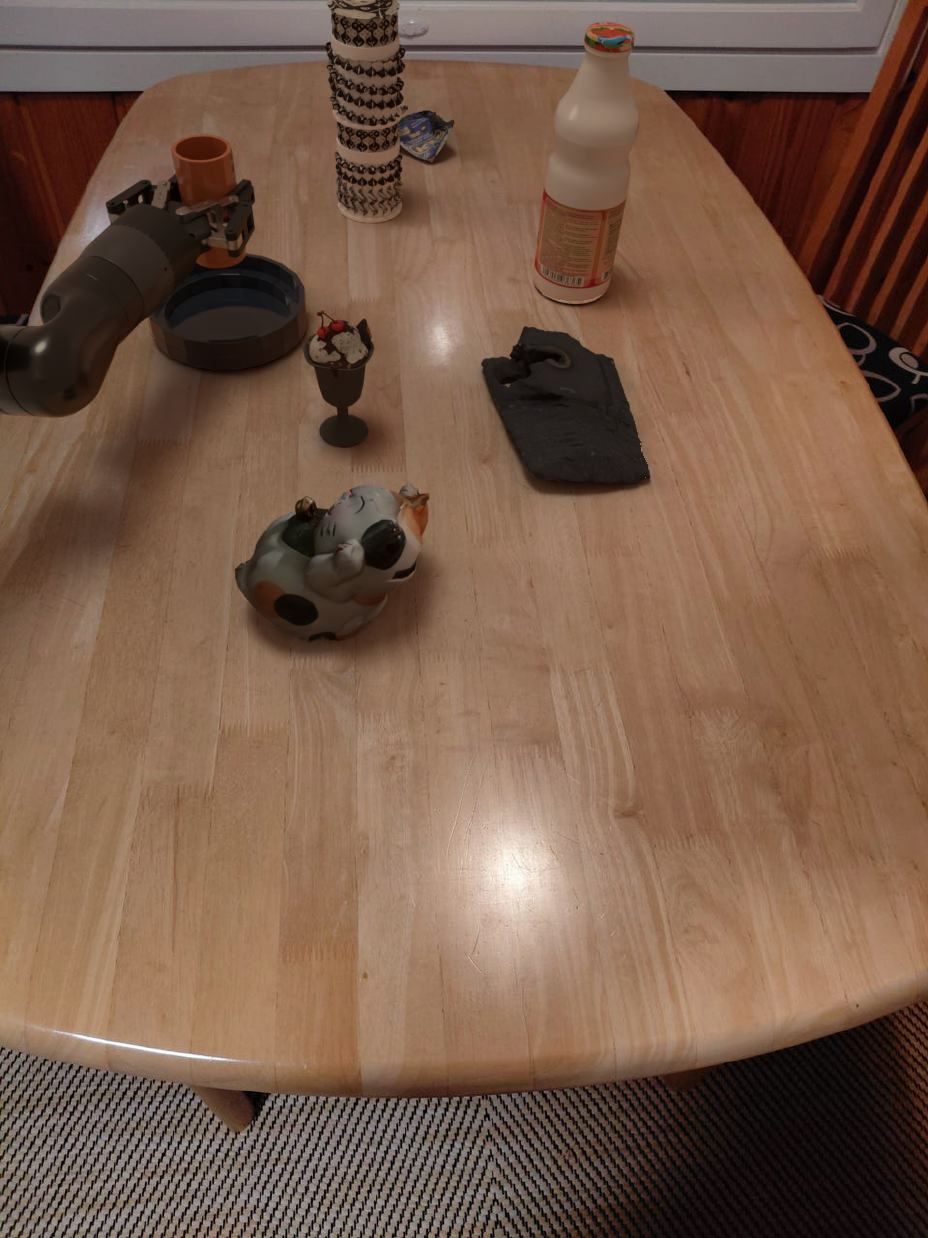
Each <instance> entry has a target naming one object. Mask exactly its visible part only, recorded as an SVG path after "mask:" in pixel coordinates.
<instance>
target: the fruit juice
mask: <svg viewBox="0 0 928 1238" xmlns="http://www.w3.org/2000/svg"><path fill="white" fill-rule="evenodd" d="M583 40H584V44H583V46H584V47H583V48H584V50H585V53H584V56H583V59H582V61H581V63H580V66H579V69H578V70H577V73H576V75H575V77H574V78H573V81H572V83H571V86H570V87H569V89H568V90H567V92H566V93H565V94H563V96H562V98H561V99H560V100H559V102H558V104H557V105H556V108H555V110H554V111H555V112H554V115H553V119H552V134H553V141H554V147H553V150H552V151H551V153H550V155H549V157H548V160H547V163H546V167H545V168H546V169H545V174H544V181H543V192H542V199H541V208H540V215H539V224H538V230H537V240H536V247H535V258H534V262H533V263H534V264H533V274H532V275H533V283H534V286H535V285H536V286H535V288H536V287H537V288H538V289H539V290H540V291H541V292H542V293H544V294H545V295H547V296H550V297H553V298H555V299H558V300H560V299H561V300H566V301H584V300H589V299H593V298H595V297H597V296H599V295H602V294H603V293H604V292H605V291H606V290H607V291H608V289H609V286H610V283H611V280H612V274H613V269H614V263H615V259H616V254H617V248H618V244H619V238H620V233H621V228H622V223H623V217H624V212H625V207H626V203H627V199H628V195H629V188H630V181H631V162H630V154H631V152H632V149H633V147H634V145H635V143H636V140H637V138H638V134H639V129H640V114H639V110H638V107H637V105H636V102H635V99H634V98H635V97H634V95H633V94H634V93H633V89H632V81H631V73H630V72H631V71H630V66H629V56H631V54H632V52H633V48H634V45H635V31H633V30H632V28H630V27H629V26H626V25H624V24H621V23H616V22H612V21H611V22H609V21H601V22H595V23H592V24H590V25H588V26H587V28H586V31H585V33H584V39H583ZM537 288H536V289H537ZM607 288H608V289H607ZM538 289H537V290H538ZM607 291H606V292H607Z"/></svg>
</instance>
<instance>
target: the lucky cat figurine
mask: <svg viewBox="0 0 928 1238" xmlns="http://www.w3.org/2000/svg"><path fill="white" fill-rule="evenodd" d="M429 500H430V493H429V492H428V493H427V492H425V493H420V491H419V488H418V487H415V486H414V485H413V483H412V482H410V483H409V486H408V485H403V486H401V488H400V490H399V492H398V493H397V492H395V491H394V490H391V489H388V488H383V487H381V486H377V485H372V484H362V485H358V486H355V487H352V488H349V489H348V490H346V491H344V492H343V493H342V495H341V496H340V498H338V500H337V501H336V502H335V503H333V505H331V507H330V508H329V509H328V508H322V507H318V506H317V503H316V501H315V499H313V498H311V497H310V496H308V495H306V496H304V497H303V498H301V499H299V500H297V501H296V503H295V505H294V510H295V511H290V512H287V513H285V514H283V515H281V516H279V517H278V518H276V519H274V520H273V521H272V522H271V523H270V524H269V526H267V528H266V529H265V530H263V532H262V534H261V535H260V536H259V538H258V540H257V541H256V545H255V547H254V551H253V554H252V555H251V557H250V559H248V560H245V562H240V564H238V566H236V568H234V579H235V582H236V586H237V588H238V590H239V591H240V592H241V594H242V595H243V596H244V598H245V599H246V600H247V601H248V603H249V604H250V605H251V606H252V607H253V608H254V609H255V610H256V611H257V612H258V613H259V614H260V615H262V616H263V617H264V618H265V619H267V620H268V621H269V622H270V623H272V624H273V626H275V627H276V628H279V630H281V631H283V632H284V633H287V634H289V635H291V636H293V637H296V639H299V640H301V641H303V642H306V643H311V642H314V641H317V640H319V639H323V638H324V639H325V640H328V641H337V642H340V641H342V640H345V639H348V638H349V639H350V638H351V637H352V636H354V635H355V634H356V633H357V632H358V631H359V630H360V629H361V628H362V627H364V626H365V625H366V624H368V623H369V622H371V621H373V620H374V619H375V618H377V617H378V615H379V614H380V613H381V612H382V611H383V609H384V607H385V606H386V603H387V601H388V593H389V592H391V591H393V590H394V589H396V588H397V587H399V586H401V585H402V584H404V583H406V582H408V581H409V580H411V578H412V577H413V576H414V573H415V572H416V570H417V561H418V556H419V554H420V552H421V549H422V547H423V546H424V540H423V535H424V533H425V531H426V528H427V525H428V524H429V504H428V501H429Z"/></svg>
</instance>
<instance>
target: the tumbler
mask: <svg viewBox="0 0 928 1238" xmlns="http://www.w3.org/2000/svg"><path fill="white" fill-rule="evenodd" d="M170 152H171V156H172V161H173V167H174V174H175V173H176V178H177V183H178V188H179V194H180V199H181V203H182V204H184V205H195V204H197V203H199V202H202V201H204V200H206V199H209V198H211V199H213V200H214V201H217V200H219V199H222V198H224V197H226V196H228V194H229V193H230V192H231V190H232V189H234V188H235V186H236V185H237V184H238V183H237V175H236V169H235V160H234V155H233V147H232V145H231V142H229V141H228V140H226V139H225V138H224V137H222V136H218V135H214V134H204V133H203V134H202V133H201V134H191V135H188V136H185V137H182V138H179V139H178V140H177V141H175V142H173V144H172V145H171V147H170ZM206 215H207V217H208V221H209V224H210V220H209V214H208V213H206ZM227 216H228V212H227V209H226V210H224V211H223V212H222V217H223V218H225V217H227ZM246 253H247V245H246V246H245V248H244V250H243V252H242V253H241V255H240V256H239V257H236V258H232V257H229V256H228V251H227V249H225V248H217V247H212V249H211V250H210V251H208V252H206V253H203V254H201V255H200V256H199V257H198V259H197V261H196V263H197V264H199V265H201V266H204V267H208V268H226V267H231V266H234V265H236V264H238V263H240V262H241V261H242V260H243V259H244V258H245V255H246Z"/></svg>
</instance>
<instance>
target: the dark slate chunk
mask: <svg viewBox="0 0 928 1238" xmlns="http://www.w3.org/2000/svg"><path fill="white" fill-rule="evenodd" d="M509 357H510V358H509ZM509 357H507V356H498V357H496V356H495V357H485V358H483V359H482V361H481V363H480V366H481V367H482V373H483V375H484V376H485V380H486V382H487V384H488V387H489V389H490V393H491V395H492V396H491V397H492V398H493V399H494V402H495V405H496V407H498V412H499V413H500V416H502V418H503V421H504V425H505V427H506V429H507V431H508V432H509V433H510V434H511V436H512V441H513V442H514V444H515V445H516V447H517V449H518V452H519V453H520V454H521V460H522V462H523V465H524V466H525V468H526V469H527V471H528V472H529V473H530V475H531V476H532V477H533V478H534V479H535V480H539V481H541V480H548V481H549V480H550V481H561V482H575V483H576V482H596V483H599V484H605V485H606V484H608V485H612V484H627V485H628V484H630V485H631V484H633V483H637V482H641V481H642V480H644V479H651V471H650V469H649V468H648V467H649V463H648V461H647V462H646V460H647V459H646V457H645V458H644V456H645V455H644V453H643V454H642V452H641V447H643V446H642V441H640V440H641V439H640V436H639V437H638V435H639V432H637V431H638V428H637V424H635V423H636V421H635V418H634V417H635V416H634V414H633V413H632V411H631V406H630V402H629V401H627V400H628V398H627V396H626V392H625V389H624V386H623V384H622V381H621V379H620V375H619V371H618V369H617V368H616V364H615V359H614V358H613V357H610V356H607V355H606V354H603V353H595V352H594V351H591V350H590V349H589V348H587V347H585V346H583V345H582V344H581V342H580V340H578V339H577V338H574V336H572V335H570V334H569V333H568V332H564V331H557V330H552V331H551V330H544V329H540V328H537V327H535V326H530V327H529V326H526V325H525V326H523V327H522V329H521V333H520V335H519V339H518V340H517V342H516V344H515V345H513V346H512V348H511V351H510V354H509ZM508 381H509V382H508ZM514 381H516V382H514ZM620 381H621V382H620ZM503 383H504V384H503ZM506 383H510V384H509V386H508V385H505V384H506ZM624 392H625V393H624ZM640 443H641V445H640ZM643 455H644V456H643ZM645 459H646V460H645ZM647 463H648V464H647ZM645 477H646V478H645Z"/></svg>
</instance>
